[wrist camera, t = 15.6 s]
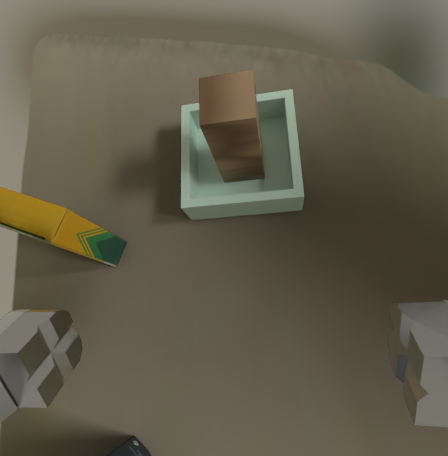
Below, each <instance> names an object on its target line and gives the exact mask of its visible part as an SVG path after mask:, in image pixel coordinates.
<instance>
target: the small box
mask: <svg viewBox="0 0 448 456" xmlns="http://www.w3.org/2000/svg"><path fill="white" fill-rule="evenodd" d="M107 456H151V455H150V453H149V451H148V450H147V449H146V447H144V445H143V444H142V443H141V442H140V441H139V440H138V439H137V438H136V437H135V436H133V437H132V438H130V439H129V440H128V441H126V442H125V443H123V444H122V445H121V446H119V447H118V448H117V449H115V450H114V451H112V452H111V453H110V454H108V455H107Z"/></svg>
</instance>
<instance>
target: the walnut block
mask: <svg viewBox="0 0 448 456" xmlns="http://www.w3.org/2000/svg"><path fill="white" fill-rule="evenodd" d="M199 125H200V128H201V130H202V132H203V135H204V137H205V139H206V141H207V144H208V146H209V148H210V151H211V153H212V155H213V158H214V160H215V162H216V165H217V167H218V169H219V172H220V174H221V176H222V178H223V181H224V183H228V182H237V181H247V180H256V179H265V175H264V161H263V148H262V138H261V130H260V122H259V114H258V106H257V98H256V90H255V82H254V74H253V70H247V71H241V72H235V73H229V74H222V75H216V76H210V77H203V78H199Z"/></svg>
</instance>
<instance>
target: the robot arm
mask: <svg viewBox="0 0 448 456" xmlns="http://www.w3.org/2000/svg"><path fill="white" fill-rule="evenodd" d="M390 318H391V321H392V323H393V325H394V328H393V329H392V330H391V331H390V332H389V336H388V347H389V356H390V360H391V364H392V367H393V370H394V373H395V376H396V377H397V378H398V379H400V380H401V381H402V382H403V383H404V387H403V397H404V399H405V402H406V404H407V407H408V409H409V412H410V415H411V417H412V420H413V422H414V425H422V426H435V427H448V300H443V301H425V302H393V303H392V306H391V310H390ZM72 323H73V320H72V318H71V316H70V314H69V312H68V311H65V310H62V309H31V310H14V311H10V312H8V313H7V314H6V315H5V316H4V317H3V318H1V319H0V423H1V422H2V421H4V420H5V419H6V418H7V417H9V416H10V415H11V414H12V413H14V412H15V411H16V410H17V407H25V408H48V406H49V405H50V403H51V402H52V400H53V399H54V397H55V396H56V395H57V393H58V392H59V390H60V389H61V387H62V386H63V377H64V376H66V375H67V374H68V373H70V372H71V371H73V370H74V368H75V367H76V365H77V364H78V362H79V361H80V357H81V353H82V341H81V339H80V336H79V334H78V333H77V332H76V331H74V330H73V329H72V328H71V326H72Z"/></svg>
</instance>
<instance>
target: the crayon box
mask: <svg viewBox="0 0 448 456" xmlns="http://www.w3.org/2000/svg"><path fill="white" fill-rule="evenodd" d="M0 226H1V227H4V228H7V229H10V230H13V231H16V232H18V233H21V234H23V235H26V236H29V237H32V238H34V239H37V240H40V241H43V242H45V243H48V244H51V245H53V246H56V247H59V248H62V249H65V250H68V251H71V252H74V253H77V254H80V255H82V256H85V257H88V258H91V259H94V260H97V261H99V262H102V263H105V264H108V265H111V266H113V267H116V266H117V264H118V261H119V259H120V257H121V254H122V252H123V250H124V247H125V245H126V243H127V242H126V241H125V240H123V239H122V238H120V237H118V236H116V235H114V234H112V233H110V232H109V231H107V230H105V229H103V228H101V227H99V226H97V225H96V224H94V223H92V222H90V221H88V220H86V219H85V218H83V217H81V216H79V215H77V214H76V213H74V212H72V211H70V210H69V209H67V208H64V207H61V206H58V205H55V204H52V203H49V202H46V201H43V200H40V199H37V198H34V197H30V196H27V195H24V194H21V193H18V192H15V191H12V190H8V189H5V188H1V187H0Z"/></svg>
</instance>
